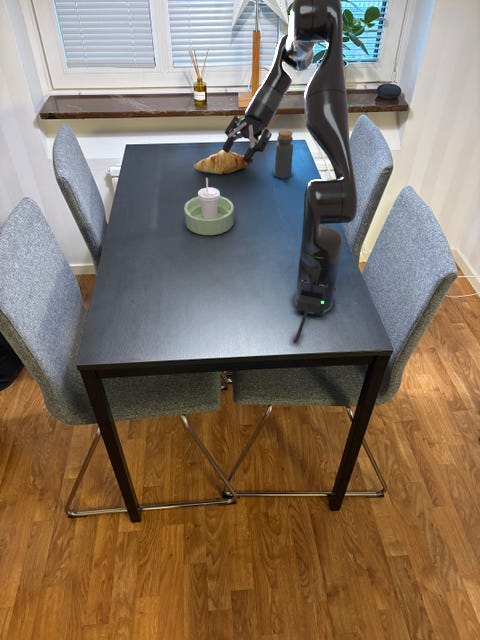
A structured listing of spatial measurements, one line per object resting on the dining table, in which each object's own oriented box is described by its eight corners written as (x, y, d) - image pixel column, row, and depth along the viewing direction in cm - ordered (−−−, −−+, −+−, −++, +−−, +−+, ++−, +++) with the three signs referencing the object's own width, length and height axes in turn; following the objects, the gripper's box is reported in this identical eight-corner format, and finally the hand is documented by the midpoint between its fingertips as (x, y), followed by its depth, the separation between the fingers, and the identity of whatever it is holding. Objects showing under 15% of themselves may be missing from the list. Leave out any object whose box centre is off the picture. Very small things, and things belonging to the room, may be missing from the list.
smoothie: (209, 213, 157) (207, 171, 147) (225, 220, 154) (224, 178, 144) (195, 222, 153) (192, 179, 144) (210, 229, 150) (209, 186, 141)
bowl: (225, 240, 147) (224, 224, 144) (178, 232, 150) (176, 215, 147) (239, 214, 158) (239, 199, 154) (195, 207, 161) (194, 191, 157)
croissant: (196, 184, 178) (196, 170, 171) (190, 160, 181) (191, 146, 174) (254, 176, 182) (257, 162, 174) (248, 153, 185) (250, 138, 177)
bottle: (293, 176, 176) (297, 134, 165) (278, 179, 174) (281, 137, 164) (286, 169, 180) (289, 127, 169) (271, 172, 178) (273, 130, 168)
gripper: (240, 92, 145) (211, 142, 148) (276, 105, 138) (245, 158, 140) (253, 106, 152) (225, 154, 154) (288, 120, 144) (258, 170, 146)
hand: (234, 156), depth 147 cm, fingers open, 8 cm apart
